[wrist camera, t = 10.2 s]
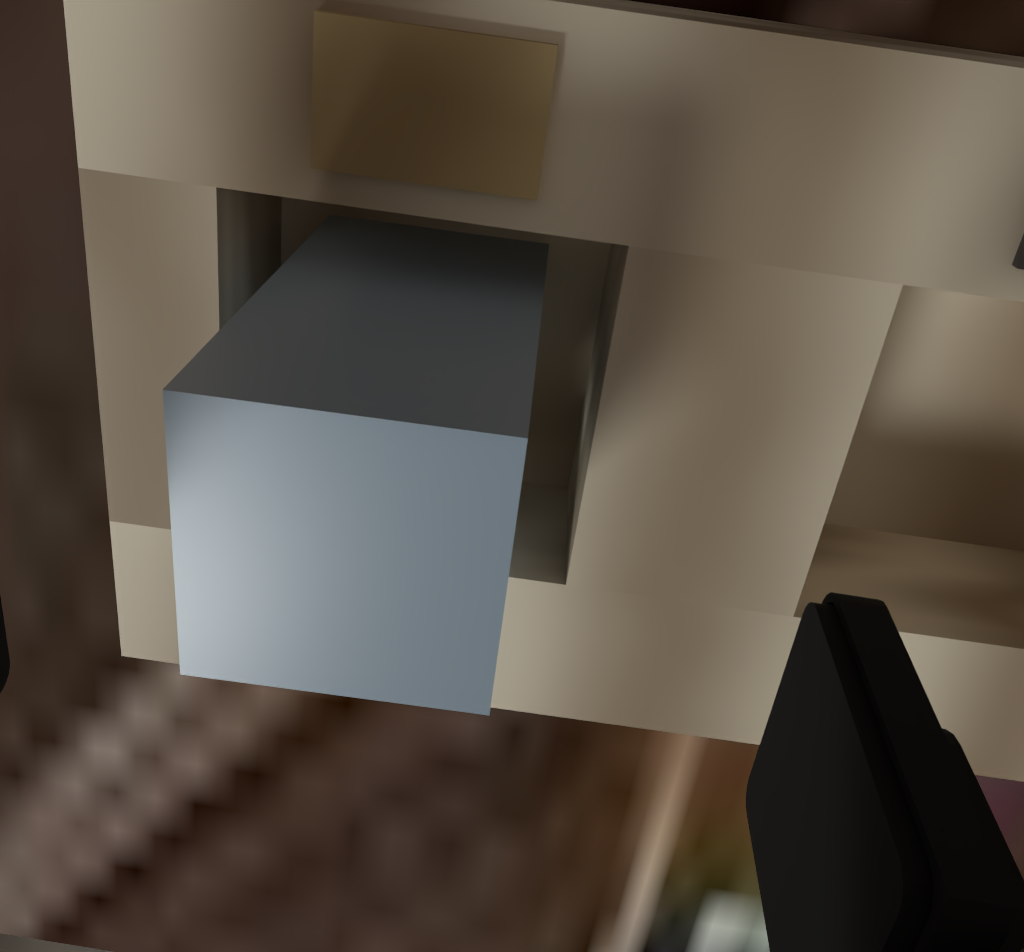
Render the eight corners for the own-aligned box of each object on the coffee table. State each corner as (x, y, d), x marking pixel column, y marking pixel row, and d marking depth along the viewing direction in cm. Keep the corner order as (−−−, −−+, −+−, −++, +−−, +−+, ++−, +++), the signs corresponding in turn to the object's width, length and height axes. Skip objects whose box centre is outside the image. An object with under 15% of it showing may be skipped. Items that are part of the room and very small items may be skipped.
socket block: (1365, 105, 16) (1599, 151, 12) (1073, 665, 22) (1174, 809, 18) (172, -65, 16) (49, -71, 12) (196, 542, 22) (117, 662, 18)
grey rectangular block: (548, 243, 17) (527, 438, 10) (522, 439, 19) (489, 715, 12) (330, 214, 17) (161, 389, 10) (324, 413, 19) (179, 673, 12)
